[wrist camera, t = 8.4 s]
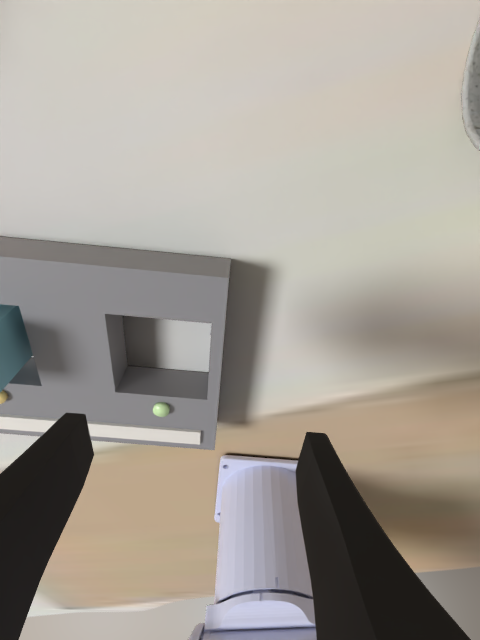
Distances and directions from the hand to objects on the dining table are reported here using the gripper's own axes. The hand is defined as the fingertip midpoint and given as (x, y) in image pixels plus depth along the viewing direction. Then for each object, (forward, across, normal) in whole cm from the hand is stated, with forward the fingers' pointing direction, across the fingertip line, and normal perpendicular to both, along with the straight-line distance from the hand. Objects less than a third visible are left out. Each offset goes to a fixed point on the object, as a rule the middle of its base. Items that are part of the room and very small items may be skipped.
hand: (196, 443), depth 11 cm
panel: (+10, +8, +4) cm, 14 cm away
